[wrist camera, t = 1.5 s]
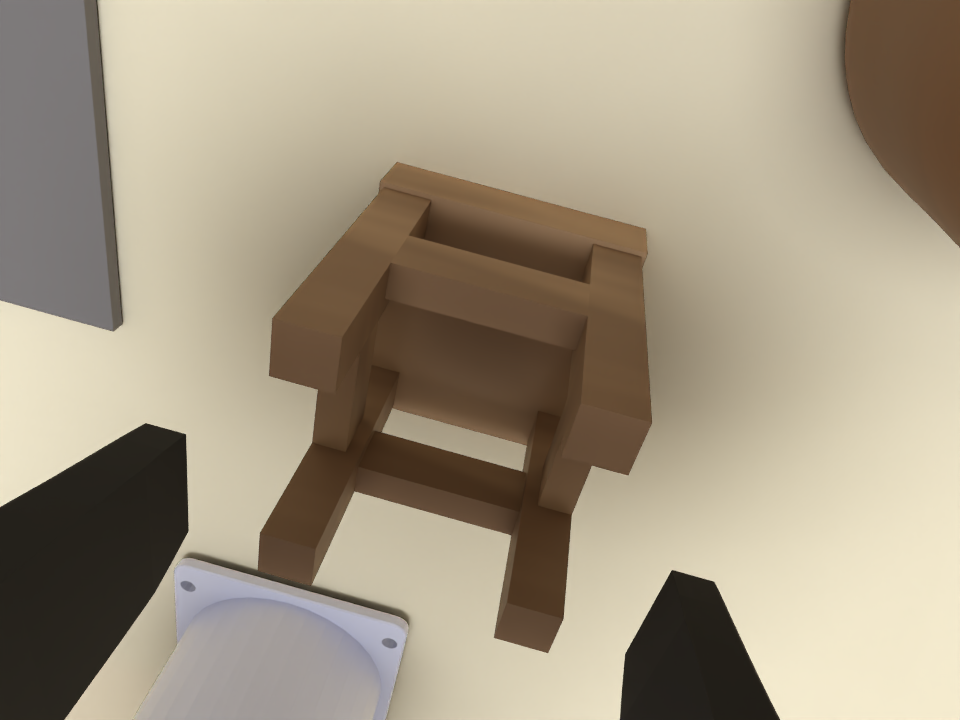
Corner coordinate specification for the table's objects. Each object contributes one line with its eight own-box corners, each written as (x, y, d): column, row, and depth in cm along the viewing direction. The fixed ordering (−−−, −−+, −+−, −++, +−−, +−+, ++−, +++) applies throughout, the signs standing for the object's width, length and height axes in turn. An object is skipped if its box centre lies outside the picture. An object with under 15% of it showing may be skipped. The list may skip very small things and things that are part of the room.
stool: (573, 422, 19) (552, 657, 13) (366, 366, 19) (252, 572, 13) (645, 227, 15) (662, 419, 10) (397, 160, 16) (265, 309, 10)
